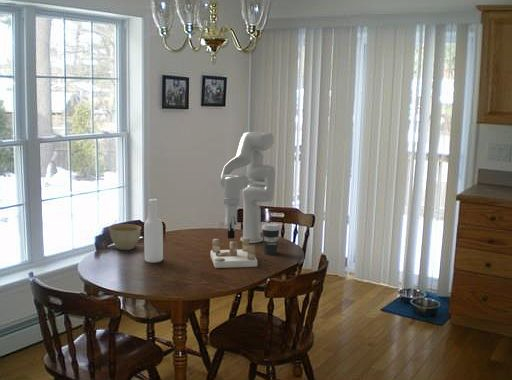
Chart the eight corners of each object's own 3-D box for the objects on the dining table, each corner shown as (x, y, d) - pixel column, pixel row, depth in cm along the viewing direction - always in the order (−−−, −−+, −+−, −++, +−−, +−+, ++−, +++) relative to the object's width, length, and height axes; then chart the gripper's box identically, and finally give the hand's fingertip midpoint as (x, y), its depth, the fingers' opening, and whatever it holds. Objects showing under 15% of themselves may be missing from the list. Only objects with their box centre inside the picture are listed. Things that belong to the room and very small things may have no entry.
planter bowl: (137, 252, 298) (137, 231, 297) (106, 251, 299) (105, 230, 297) (144, 244, 314) (144, 224, 312) (114, 243, 315) (113, 223, 313)
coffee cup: (257, 254, 300) (258, 225, 297) (266, 249, 308) (266, 221, 305) (274, 256, 295) (275, 227, 293) (282, 252, 304) (283, 223, 301)
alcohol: (161, 257, 290) (161, 197, 285) (164, 262, 282) (163, 200, 277) (143, 258, 288) (142, 198, 283) (145, 263, 279) (145, 201, 274)
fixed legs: (212, 250, 293) (212, 238, 292) (248, 249, 296) (249, 237, 295) (216, 261, 275) (216, 248, 274) (255, 259, 278) (255, 247, 277)
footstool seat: (210, 256, 294) (210, 249, 293) (249, 254, 298) (250, 248, 297) (215, 267, 274) (215, 261, 274) (257, 266, 278) (257, 259, 278)
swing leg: (216, 256, 282) (216, 243, 281) (215, 254, 286) (215, 241, 285) (237, 255, 284) (237, 242, 283) (236, 253, 288) (236, 241, 287)
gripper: (222, 199, 295) (221, 235, 297) (226, 204, 280) (225, 241, 283) (237, 199, 296) (236, 234, 299) (241, 204, 281) (240, 241, 284)
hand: (231, 238), depth 291 cm, fingers closed
